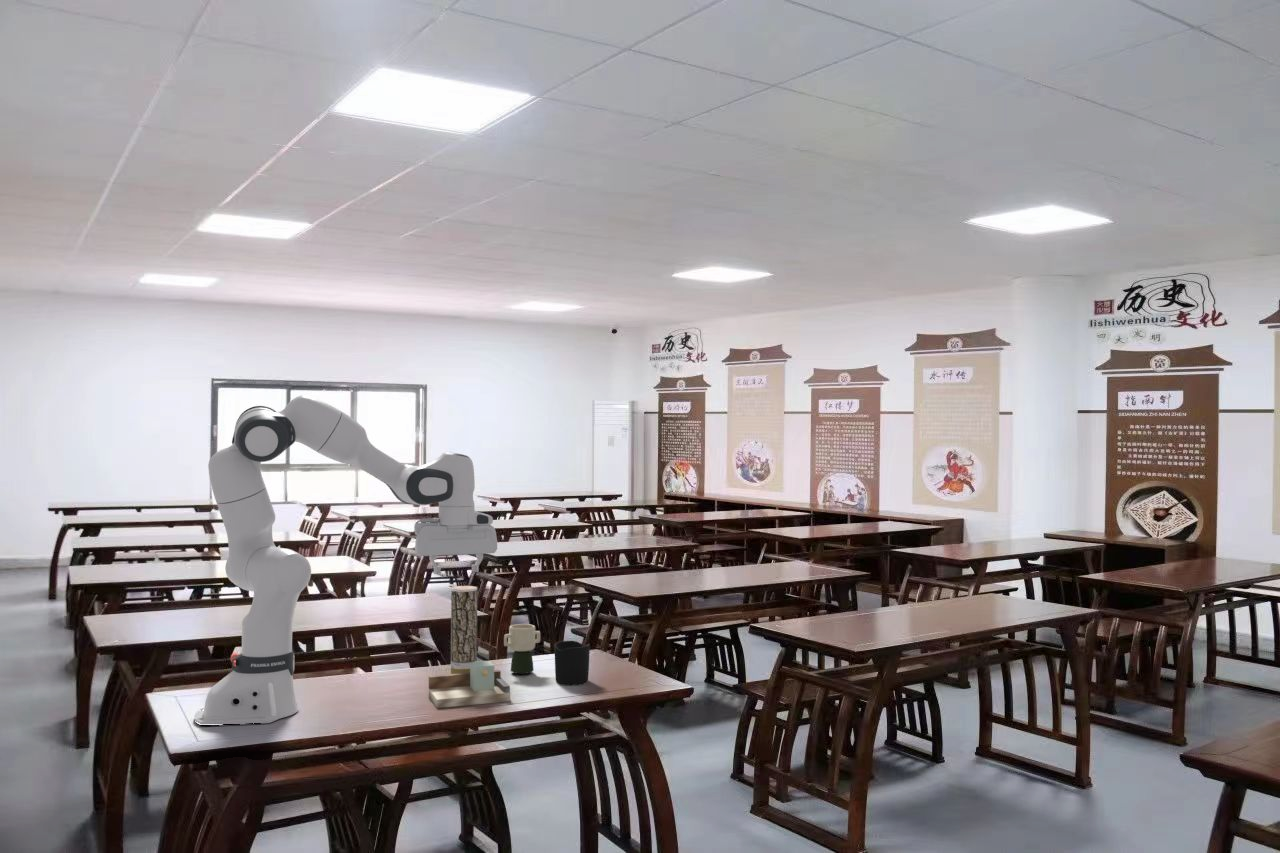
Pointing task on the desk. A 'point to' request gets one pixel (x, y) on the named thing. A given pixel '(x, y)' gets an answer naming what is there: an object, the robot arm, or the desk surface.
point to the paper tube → (463, 628)
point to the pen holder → (571, 662)
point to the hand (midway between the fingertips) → (456, 572)
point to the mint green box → (482, 676)
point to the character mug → (522, 646)
